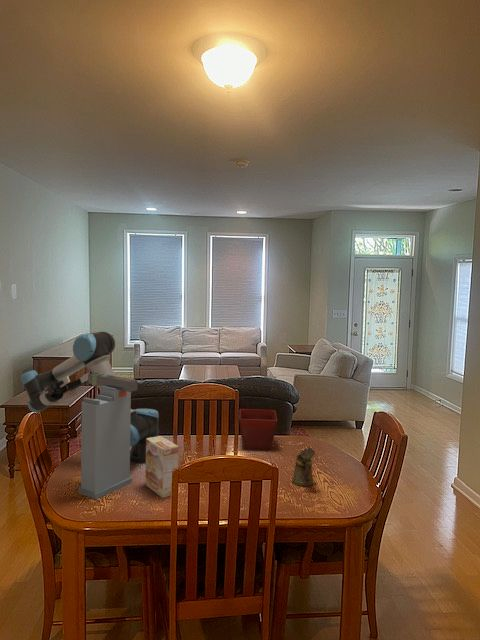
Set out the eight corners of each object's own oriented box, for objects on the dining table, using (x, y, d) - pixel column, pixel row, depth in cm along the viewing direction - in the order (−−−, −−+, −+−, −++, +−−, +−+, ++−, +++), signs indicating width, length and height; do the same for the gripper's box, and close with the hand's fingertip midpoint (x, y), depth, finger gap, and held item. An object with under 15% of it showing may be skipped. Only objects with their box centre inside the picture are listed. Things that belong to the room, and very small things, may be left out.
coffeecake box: (144, 484, 190) (145, 438, 189) (160, 480, 195) (161, 435, 193) (161, 498, 179) (162, 448, 177) (178, 493, 183) (179, 445, 182)
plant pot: (276, 453, 232) (277, 420, 231) (238, 451, 232) (239, 418, 231) (274, 440, 251) (275, 409, 250) (238, 439, 251) (239, 408, 250)
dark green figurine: (295, 491, 188) (297, 448, 187) (290, 477, 202) (292, 437, 201) (317, 491, 189) (319, 448, 188) (310, 478, 202) (312, 437, 201)
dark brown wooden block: (87, 383, 193) (87, 373, 193) (95, 382, 197) (95, 372, 197) (129, 391, 181) (129, 381, 180) (137, 390, 184) (137, 379, 184)
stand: (78, 492, 181) (78, 390, 178) (115, 476, 197) (116, 382, 194) (95, 499, 176) (96, 393, 173) (132, 482, 192) (133, 385, 189)
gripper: (75, 397, 226) (102, 380, 216) (31, 407, 207) (59, 389, 196) (70, 383, 228) (97, 365, 217) (26, 391, 208) (53, 372, 197)
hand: (79, 376), depth 206 cm, fingers open, 11 cm apart
